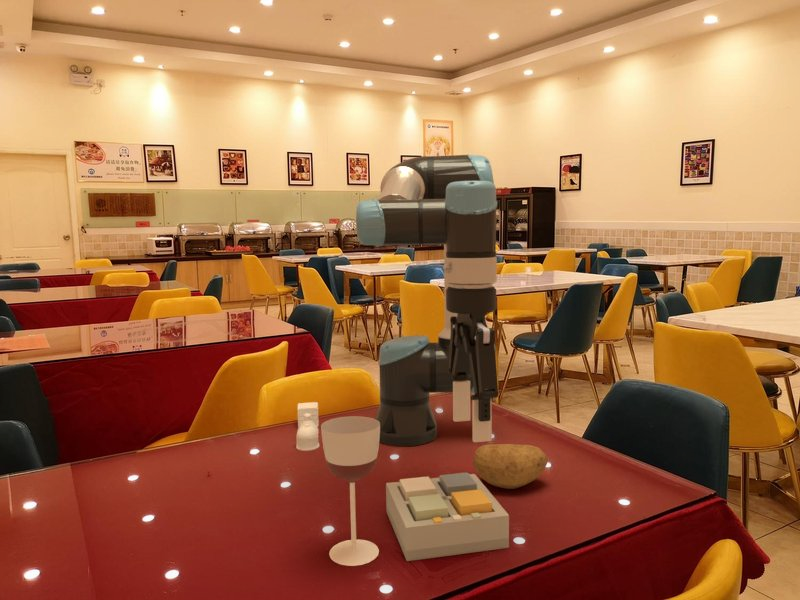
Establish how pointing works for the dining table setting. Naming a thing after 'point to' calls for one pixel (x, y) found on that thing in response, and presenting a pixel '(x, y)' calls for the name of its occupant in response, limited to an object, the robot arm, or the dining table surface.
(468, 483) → the key slate
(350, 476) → the wineglass
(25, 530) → the dining table surface
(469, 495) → the key amber
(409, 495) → the key ivory
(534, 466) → the potato
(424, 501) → the key sage
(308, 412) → the container set
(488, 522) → the keypad
